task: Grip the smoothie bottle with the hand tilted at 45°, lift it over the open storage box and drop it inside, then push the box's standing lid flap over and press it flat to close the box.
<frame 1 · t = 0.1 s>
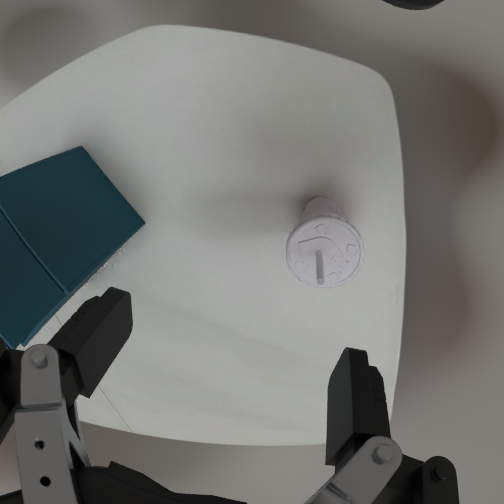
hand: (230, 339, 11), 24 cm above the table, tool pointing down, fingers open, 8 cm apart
smoothie: (321, 212, 34), on the table
open storage box: (81, 220, 39), on the table
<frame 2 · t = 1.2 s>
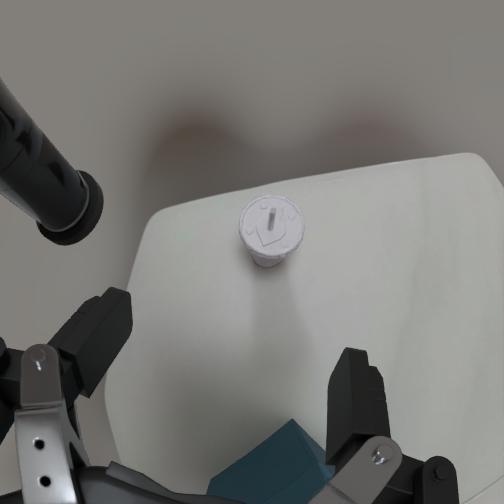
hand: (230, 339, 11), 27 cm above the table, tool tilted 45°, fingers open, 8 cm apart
smoothie: (267, 253, 40), on the table
open storage box: (293, 490, 31), on the table
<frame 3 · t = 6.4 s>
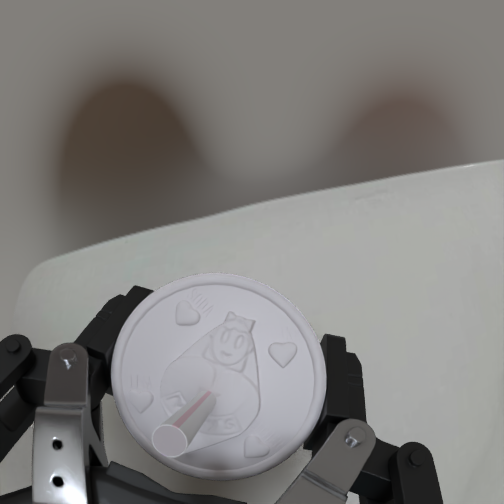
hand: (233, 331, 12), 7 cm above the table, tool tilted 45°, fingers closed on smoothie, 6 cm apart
smoothie: (233, 364, 18), on the table, touching gripper
when the fingers open (24 cm above the table, at t = 18.3 s): smoothie drops 16 cm, resting on open storage box.
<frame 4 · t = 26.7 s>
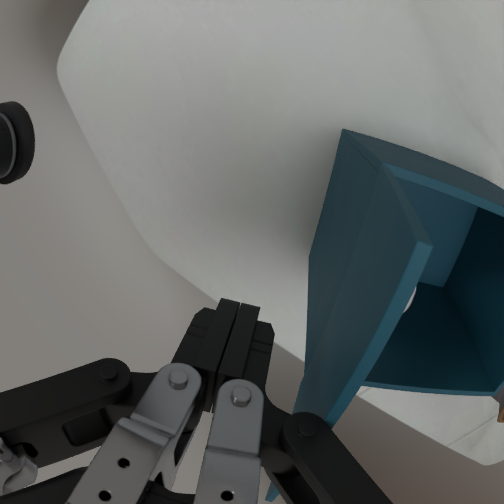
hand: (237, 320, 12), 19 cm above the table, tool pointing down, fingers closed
flap: (332, 354, 11), point 20 cm above the table, hinge at 97.8°, touching gripper
open storage box: (403, 217, 28), on the table
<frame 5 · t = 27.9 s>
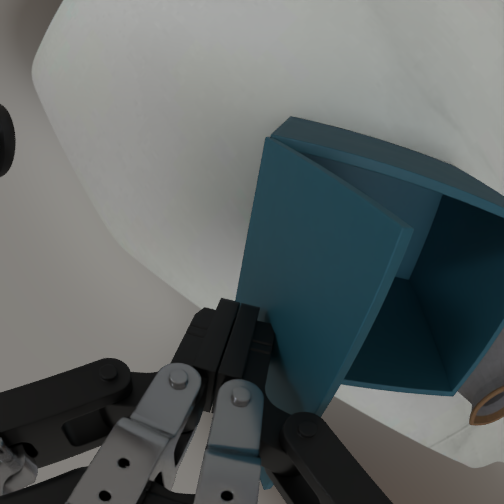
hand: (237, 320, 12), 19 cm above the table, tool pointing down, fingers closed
flap: (270, 337, 12), point 20 cm above the table, hinge at 63.6°, touching gripper
open storage box: (360, 205, 29), on the table
coffee pot: (476, 344, 33), on the table
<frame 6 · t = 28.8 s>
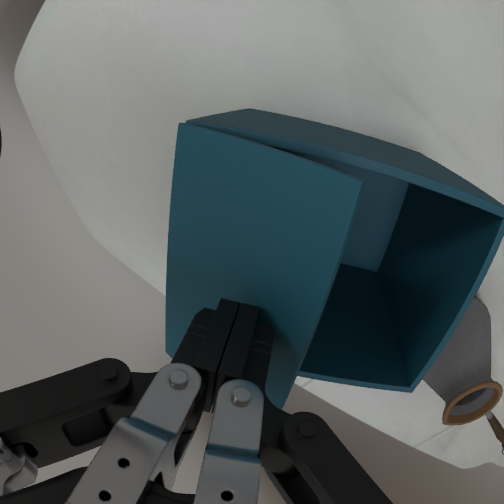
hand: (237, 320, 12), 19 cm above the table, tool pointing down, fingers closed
flap: (227, 301, 13), point 18 cm above the table, hinge at 31.4°
open storage box: (322, 195, 29), on the table
coffee pot: (457, 340, 34), on the table
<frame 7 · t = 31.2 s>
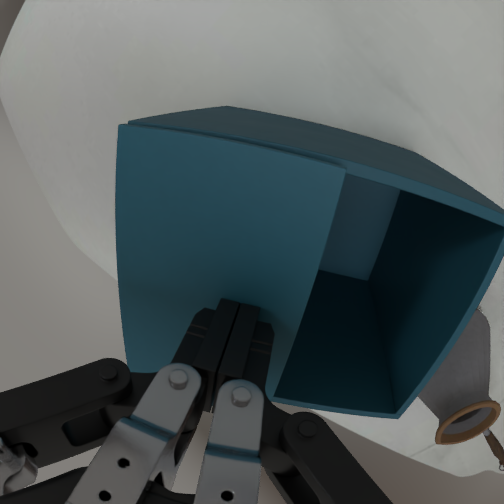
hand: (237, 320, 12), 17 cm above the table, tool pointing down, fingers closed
flap: (200, 304, 13), point 16 cm above the table, hinge at 5.5°, touching gripper
open storage box: (306, 199, 27), on the table
coffee pot: (454, 351, 32), on the table
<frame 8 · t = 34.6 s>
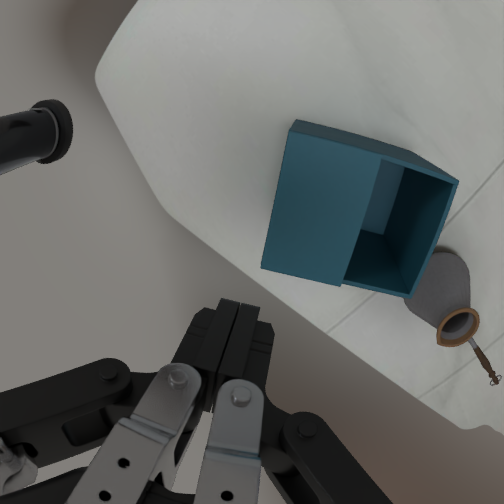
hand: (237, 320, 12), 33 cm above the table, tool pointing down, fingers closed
flap: (318, 214, 27), point 16 cm above the table, hinge at -0.1°
open storage box: (344, 180, 41), on the table
coffee pot: (446, 294, 46), on the table
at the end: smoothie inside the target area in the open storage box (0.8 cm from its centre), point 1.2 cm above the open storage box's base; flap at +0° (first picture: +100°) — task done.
